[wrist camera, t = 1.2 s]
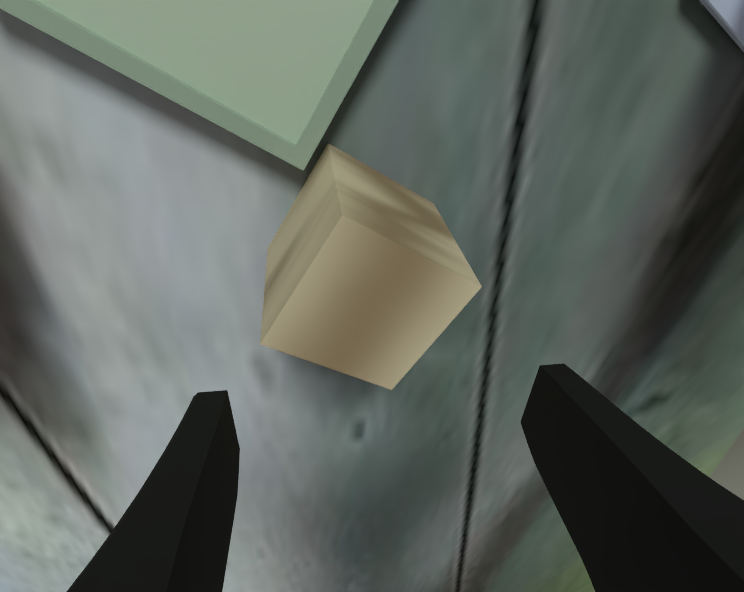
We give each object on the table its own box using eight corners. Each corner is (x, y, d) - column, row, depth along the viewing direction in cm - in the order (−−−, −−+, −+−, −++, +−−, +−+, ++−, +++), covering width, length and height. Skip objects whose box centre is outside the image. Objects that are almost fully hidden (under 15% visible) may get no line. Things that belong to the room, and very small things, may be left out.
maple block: (434, 203, 19) (481, 286, 14) (369, 292, 21) (391, 389, 16) (327, 142, 17) (342, 215, 12) (268, 247, 19) (260, 344, 14)
